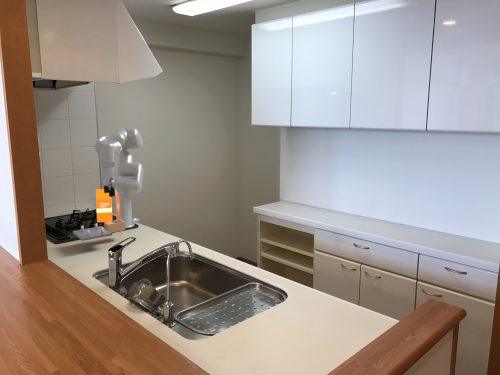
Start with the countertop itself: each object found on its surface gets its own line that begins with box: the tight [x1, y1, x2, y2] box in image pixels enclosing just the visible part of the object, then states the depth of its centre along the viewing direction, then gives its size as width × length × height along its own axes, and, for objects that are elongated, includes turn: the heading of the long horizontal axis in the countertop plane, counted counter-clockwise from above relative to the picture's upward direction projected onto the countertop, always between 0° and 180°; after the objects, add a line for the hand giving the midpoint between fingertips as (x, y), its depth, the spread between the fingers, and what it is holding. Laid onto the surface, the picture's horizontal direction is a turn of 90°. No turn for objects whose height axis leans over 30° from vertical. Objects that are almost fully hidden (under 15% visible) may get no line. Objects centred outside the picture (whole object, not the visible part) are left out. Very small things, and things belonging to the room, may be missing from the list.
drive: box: [103, 219, 126, 234], centre depth 238 cm, size 10×6×5 cm, turn 129°
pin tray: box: [72, 222, 113, 242], centre depth 226 cm, size 16×16×4 cm
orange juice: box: [95, 188, 113, 223], centre depth 256 cm, size 8×9×20 cm
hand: (109, 194), depth 232 cm, fingers open, 9 cm apart
